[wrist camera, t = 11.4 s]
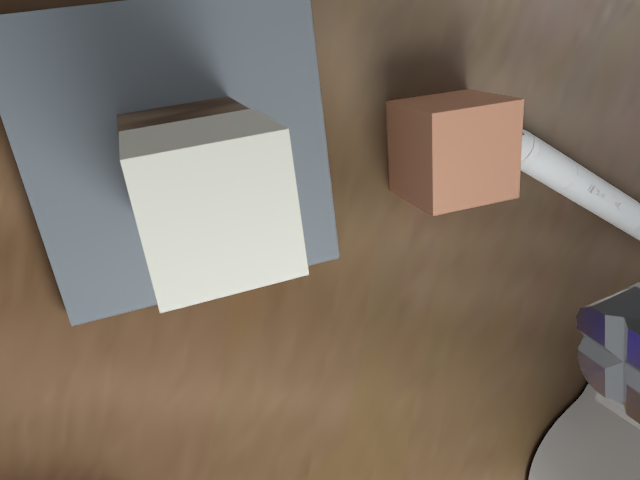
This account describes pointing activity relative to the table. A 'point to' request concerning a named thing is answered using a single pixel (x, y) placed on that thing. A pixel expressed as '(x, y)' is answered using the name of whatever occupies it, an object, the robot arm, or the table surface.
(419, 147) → the brick terracotta
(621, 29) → the table surface
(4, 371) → the table surface
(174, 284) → the cream white cube
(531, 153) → the marker
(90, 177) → the board
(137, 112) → the brick walnut
